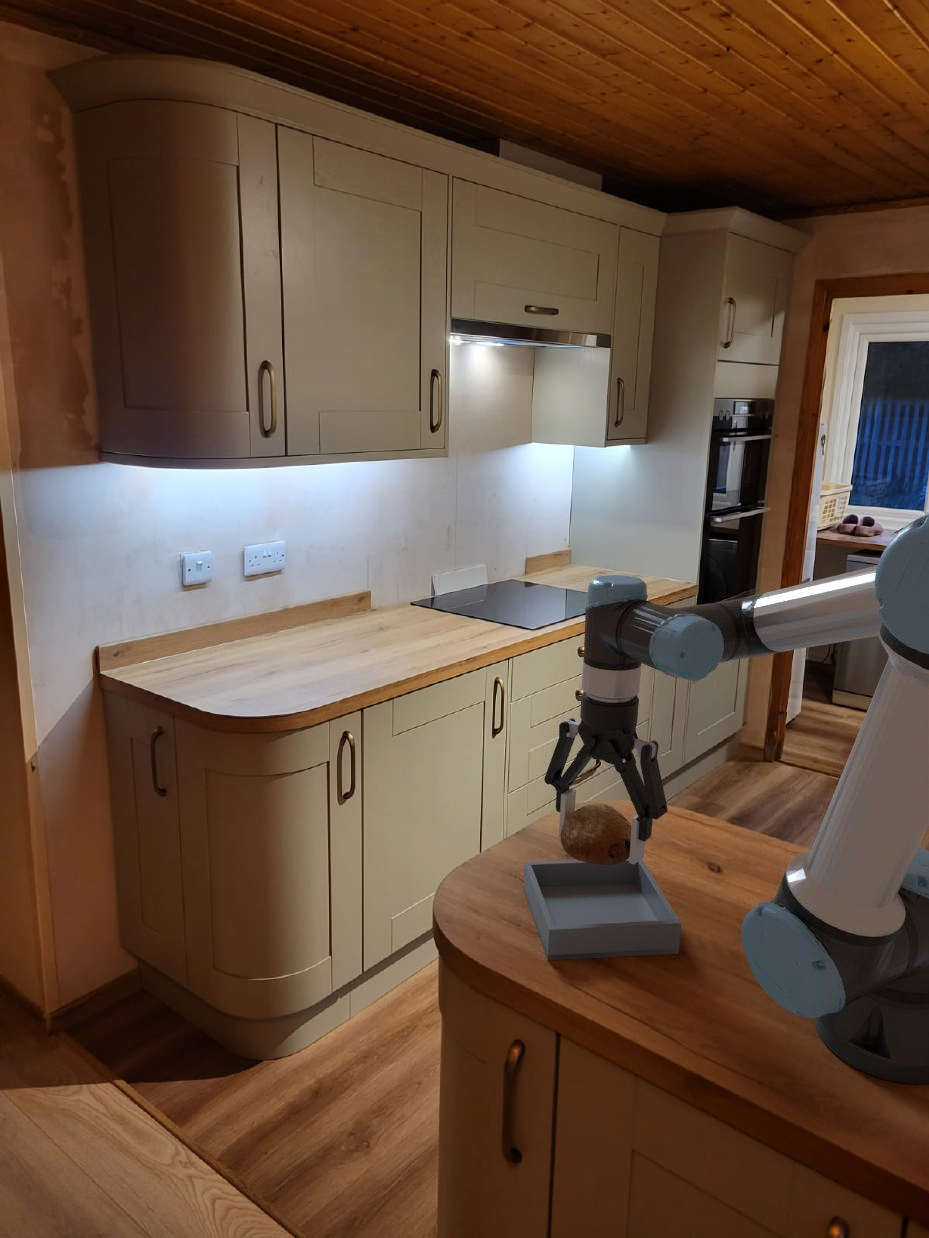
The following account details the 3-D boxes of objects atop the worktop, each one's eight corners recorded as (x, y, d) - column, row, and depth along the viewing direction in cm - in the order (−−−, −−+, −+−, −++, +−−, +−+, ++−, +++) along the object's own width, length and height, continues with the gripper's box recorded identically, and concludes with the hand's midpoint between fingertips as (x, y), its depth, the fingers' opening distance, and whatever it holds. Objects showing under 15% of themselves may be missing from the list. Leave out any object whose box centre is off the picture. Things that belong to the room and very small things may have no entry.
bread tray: (678, 953, 123) (681, 922, 122) (547, 960, 121) (549, 929, 120) (639, 884, 140) (641, 857, 139) (523, 889, 138) (524, 862, 137)
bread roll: (596, 851, 135) (578, 798, 135) (656, 843, 128) (637, 788, 128) (558, 878, 127) (540, 822, 127) (621, 871, 121) (601, 812, 121)
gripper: (703, 705, 119) (689, 863, 124) (552, 669, 132) (545, 813, 138) (677, 721, 113) (663, 885, 118) (522, 681, 127) (516, 831, 132)
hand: (600, 846), depth 128 cm, fingers closed on bread roll, 10 cm apart
